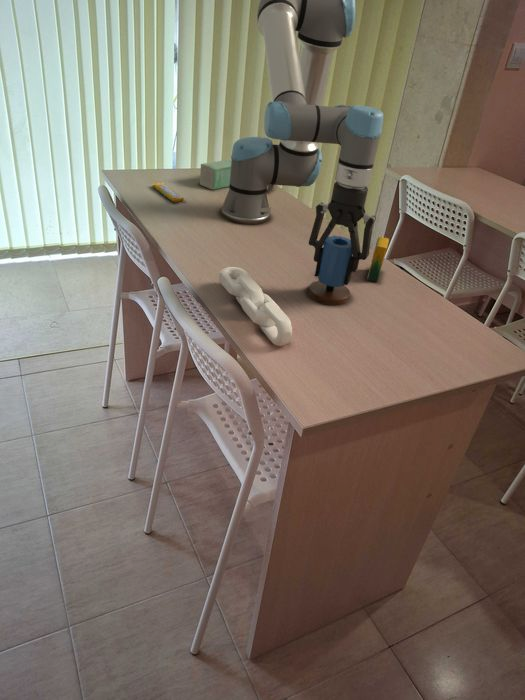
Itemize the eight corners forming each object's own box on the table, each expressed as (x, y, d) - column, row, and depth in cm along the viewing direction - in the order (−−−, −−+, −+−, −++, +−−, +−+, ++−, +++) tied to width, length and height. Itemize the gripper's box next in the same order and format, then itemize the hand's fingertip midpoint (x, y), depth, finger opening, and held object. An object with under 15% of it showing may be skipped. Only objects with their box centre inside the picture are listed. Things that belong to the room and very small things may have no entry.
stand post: (325, 287, 133) (332, 251, 127) (333, 287, 133) (340, 252, 128) (326, 291, 131) (334, 255, 126) (334, 291, 131) (342, 256, 126)
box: (240, 184, 196) (242, 163, 192) (213, 190, 187) (214, 169, 183) (226, 179, 200) (227, 158, 196) (199, 184, 191) (200, 163, 187)
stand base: (305, 284, 136) (306, 279, 135) (343, 286, 138) (345, 281, 137) (312, 304, 128) (313, 298, 127) (353, 306, 130) (354, 300, 129)
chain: (297, 347, 112) (301, 321, 109) (271, 352, 109) (274, 326, 106) (238, 281, 133) (241, 258, 130) (215, 284, 131) (217, 261, 127)
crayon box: (377, 282, 142) (388, 241, 135) (366, 280, 142) (376, 239, 136) (380, 271, 148) (391, 231, 141) (370, 269, 148) (379, 229, 142)
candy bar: (184, 202, 174) (185, 197, 173) (173, 204, 172) (173, 198, 171) (162, 186, 185) (162, 180, 184) (151, 187, 183) (151, 181, 182)
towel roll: (315, 273, 133) (322, 235, 127) (342, 274, 134) (350, 236, 128) (320, 286, 127) (328, 246, 122) (348, 287, 128) (357, 248, 123)
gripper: (303, 177, 117) (289, 272, 130) (391, 199, 112) (367, 296, 125) (315, 170, 123) (300, 262, 136) (399, 190, 118) (375, 283, 130)
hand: (332, 278), depth 130 cm, fingers closed on towel roll, 7 cm apart
